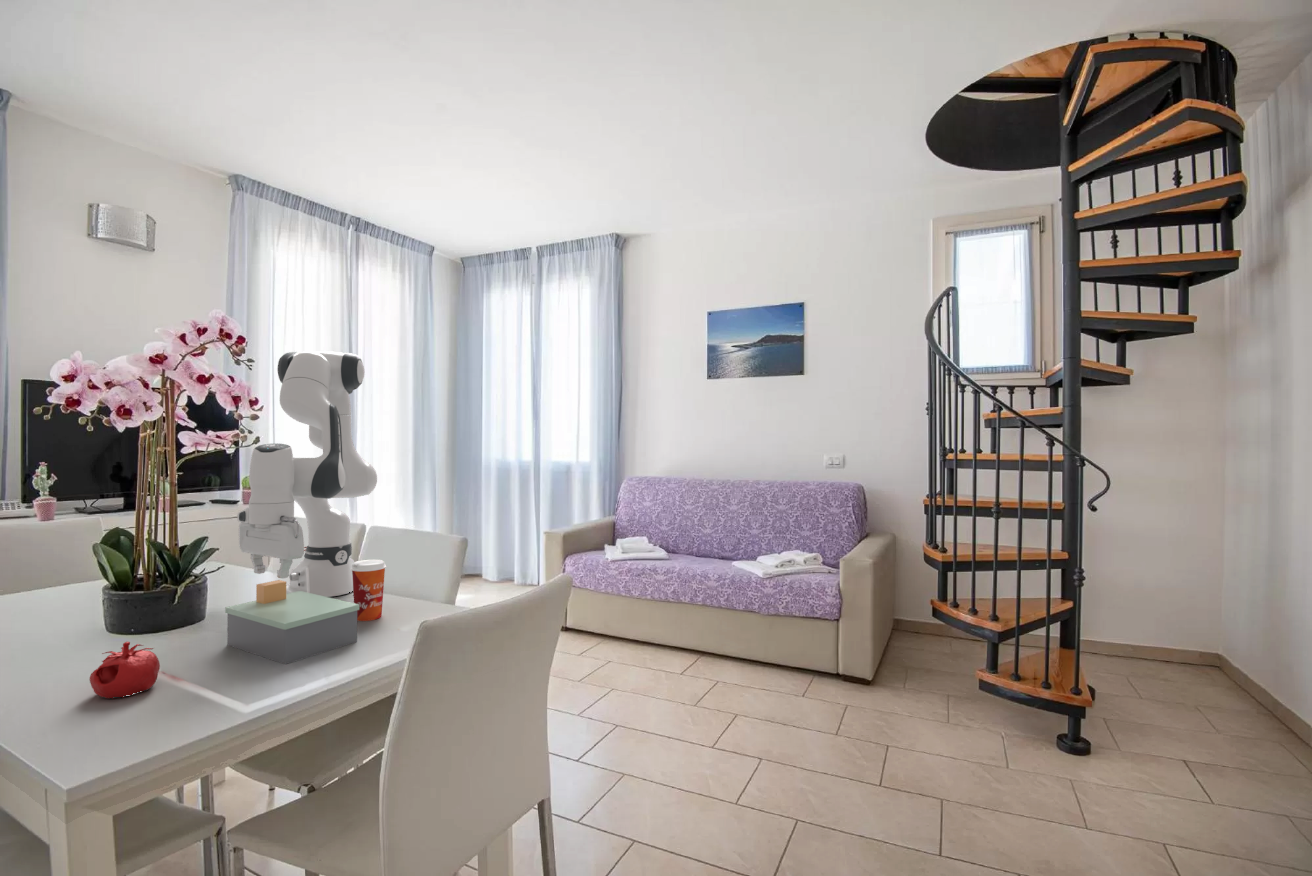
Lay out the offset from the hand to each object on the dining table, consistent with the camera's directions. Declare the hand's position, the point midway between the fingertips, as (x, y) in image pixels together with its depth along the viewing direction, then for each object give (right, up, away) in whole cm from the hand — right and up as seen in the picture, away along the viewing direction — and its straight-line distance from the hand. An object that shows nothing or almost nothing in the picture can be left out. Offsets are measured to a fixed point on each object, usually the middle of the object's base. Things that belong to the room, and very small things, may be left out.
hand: (271, 575), depth 142 cm
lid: (+7, -7, -4) cm, 11 cm away
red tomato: (-10, -16, -27) cm, 33 cm away
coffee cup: (+15, -15, +16) cm, 27 cm away
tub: (+7, -15, -4) cm, 17 cm away
